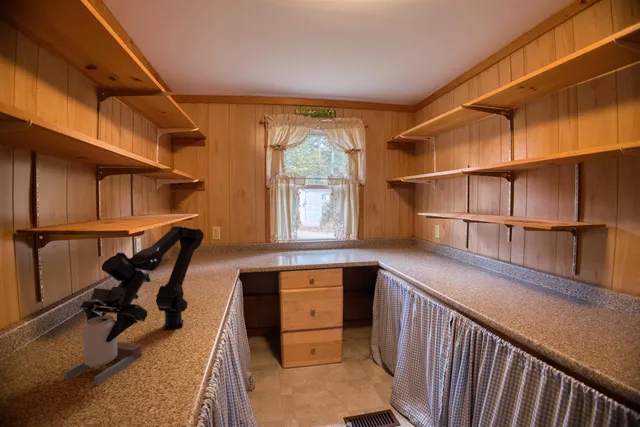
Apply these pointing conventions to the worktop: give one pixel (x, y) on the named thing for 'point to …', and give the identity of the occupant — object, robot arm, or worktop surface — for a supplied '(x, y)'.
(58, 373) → the worktop surface
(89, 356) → the can
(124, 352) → the stop block
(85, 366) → the guide rails
